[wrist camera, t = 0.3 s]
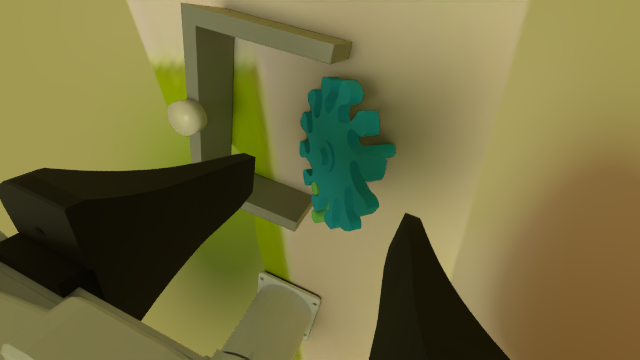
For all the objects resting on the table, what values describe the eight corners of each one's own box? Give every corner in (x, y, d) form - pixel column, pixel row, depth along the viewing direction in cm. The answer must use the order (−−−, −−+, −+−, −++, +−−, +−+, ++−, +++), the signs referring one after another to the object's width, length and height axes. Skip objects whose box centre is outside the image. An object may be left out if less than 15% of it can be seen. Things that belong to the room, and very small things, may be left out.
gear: (304, 49, 17) (388, 137, 11) (379, 55, 20) (483, 130, 13) (285, 175, 24) (328, 273, 18) (341, 168, 27) (397, 252, 20)
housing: (312, 205, 25) (288, 241, 21) (216, 167, 27) (176, 192, 23) (352, 42, 17) (327, 45, 13) (214, 5, 19) (154, -2, 15)
